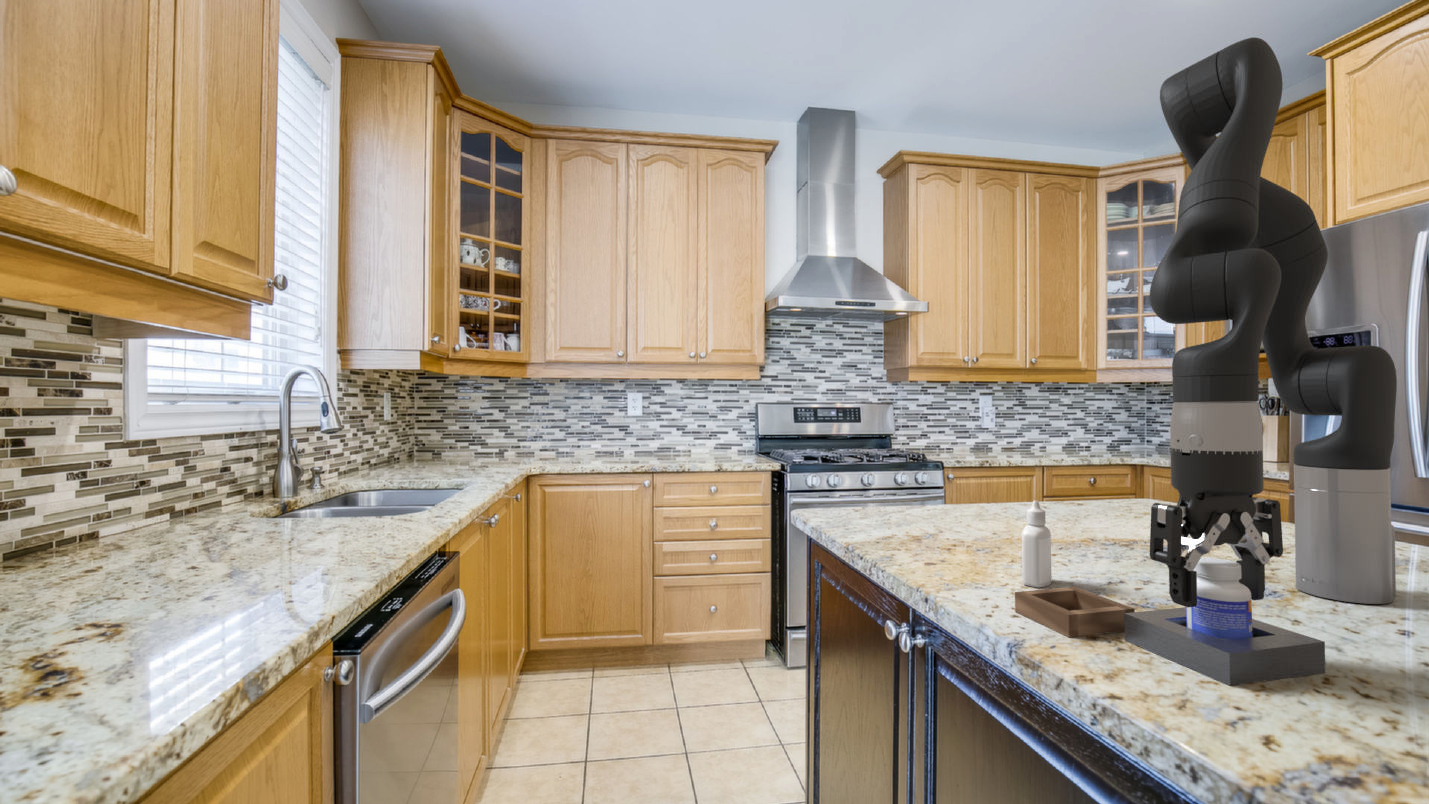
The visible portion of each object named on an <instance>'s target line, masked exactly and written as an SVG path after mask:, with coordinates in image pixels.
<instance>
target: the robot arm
mask: <svg viewBox="0 0 1429 804" xmlns="http://www.w3.org/2000/svg"><path fill="white" fill-rule="evenodd" d="M1282 95H1283V74H1282V70H1281V65H1280V63H1279V61H1278V59H1277V56H1276V54H1275V51H1274V50H1273V49H1272V47H1271V46H1270V45H1269V43H1267V41H1265V40H1264V39H1262V38H1259V37H1249V38H1245V39H1243V40H1239V41H1237V42H1235V43H1232V44H1230V45H1228V46H1226V47H1224V48H1223V49H1220V50H1218V51H1217V52H1214V53H1213V54H1211V55H1208V56H1207V57H1205V58H1203V59H1201V60H1198V61H1197V62H1195V63H1193V64H1191V65H1189V66H1188V67H1185V68H1183V69H1182V70H1180V71H1177V72H1176V73H1174V74H1173V75H1171V76H1169V77H1168V78H1166V79H1165V80H1164V81H1163V82H1162V84H1161V86H1160V89H1159V102H1160V107H1161V110H1162V114H1163V116H1164V119H1165V122H1166V124H1167V126H1168V128H1169V130H1170V132H1171V134H1172V136H1173V139H1174V141H1175V142H1176V144H1177V146H1178V148H1179V150H1180V152H1181V153H1182V154H1181V155H1183V158H1184V159H1185V161H1186V163H1187V164H1188V166H1189V168H1190V170H1191V171H1190V173H1189V174H1188V176H1187V179H1186V180H1185V182H1184V184H1183V187H1182V189H1181V192H1180V196H1179V201H1178V211H1177V219H1176V220H1177V223H1176V231H1175V234H1174V236H1173V238H1172V240H1171V243H1170V245H1169V246H1168V249H1167V250H1166V252H1165V253H1164V254H1163V255H1164V256H1163V257H1162V259H1161V260H1160V262H1159V264H1158V266H1157V268H1156V270H1155V273H1154V274H1153V277H1152V281H1151V283H1150V287H1149V289H1150V290H1149V302H1150V306H1151V308H1152V311H1153V312H1154V314H1155V315H1156V316H1157V317H1158V318H1159V319H1160V320H1162V321H1163V322H1166V323H1167V324H1173V325H1174V324H1175V325H1185V324H1187V325H1189V324H1197V323H1210V322H1211V323H1212V322H1220V321H1229V320H1230V321H1233V325H1232V327H1231V329H1230V330H1229V331H1228V333H1227V334H1225V335H1224V336H1222V337H1221V338H1218V339H1215V340H1213V341H1208V342H1205V343H1200V344H1199V343H1198V344H1195V345H1191V346H1186V347H1184V348H1181V349H1179V350H1177V351H1176V353H1174V354H1173V358H1172V361H1171V362H1172V364H1171V368H1172V369H1171V374H1172V375H1171V377H1172V410H1171V417H1170V423H1169V425H1170V426H1169V427H1170V428H1169V433H1170V434H1169V435H1170V440H1169V441H1170V442H1169V444H1170V485H1171V487H1173V488H1174V489H1175V490H1177V492H1178V493H1179V497H1178V501H1177V503H1176V504H1174V505H1173V504H1168V503H1162V502H1161V503H1160V502H1154V503H1152V505H1151V507H1150V531H1149V532H1150V534H1149V536H1150V537H1149V538H1150V539H1149V558H1150V559H1151V561H1155V562H1159V563H1162V564H1163V565H1166V566H1167V568H1168V583H1169V584H1168V585H1169V586H1168V587H1169V588H1168V589H1169V590H1168V592H1169V593H1168V594H1169V595H1170V598H1171V601H1172V602H1173V603H1174V604H1177V605H1180V606H1183V607H1195V606H1196V605H1197V571H1193V570H1194V569H1195V567H1196V565H1197V563H1198V562H1199V560H1200V558H1202V557H1203V556H1204V555H1207V554H1209V553H1210V552H1211V550H1212V549H1213V547H1214V546H1215V547H1217V546H1222V545H1224V544H1226V545H1228V546H1230V547H1231V549H1232V550H1233V552H1234V553H1235V555H1236V557H1237V558H1238V559H1239V560H1236V562H1237V563H1239V564H1240V565H1241V574H1242V576H1241V577H1242V578H1241V579H1240V580H1239V583H1241V584H1243V585H1245V586H1246V587H1247V588H1248V589H1249V590H1250V592H1251V601H1260V600H1263V599H1264V597H1265V590H1266V581H1265V580H1266V567H1265V566H1266V565H1268V564H1269V562H1270V560H1271V558H1272V557H1277V558H1280V557H1282V555H1283V554H1284V544H1283V529H1282V527H1283V526H1282V513H1281V511H1282V510H1281V502H1279V500H1278V499H1277V500H1276V499H1270V498H1263V497H1254V495H1255V496H1256V495H1259V494H1261V493H1262V492H1263V491H1264V444H1263V443H1264V441H1263V440H1264V439H1263V438H1264V437H1263V435H1264V433H1263V430H1264V429H1263V420H1262V415H1261V410H1260V402H1259V401H1260V399H1259V398H1260V397H1259V396H1260V391H1259V389H1260V386H1259V362H1260V360H1259V359H1260V353H1261V352H1260V351H1261V347H1263V350H1264V354H1265V356H1266V359H1267V363H1268V367H1269V371H1270V374H1271V378H1272V382H1273V385H1274V387H1275V390H1276V392H1277V395H1278V397H1279V399H1280V400H1281V402H1282V404H1283V405H1284V406H1285V407H1286V408H1287V409H1288V410H1289V411H1290V412H1292V413H1295V414H1298V415H1305V416H1331V417H1332V416H1337V417H1339V416H1341V419H1340V423H1339V426H1338V428H1337V429H1335V430H1334V431H1332V432H1331V433H1329V434H1327V435H1324V436H1322V437H1319V438H1316V439H1312V440H1306V441H1303V442H1299V443H1297V444H1296V445H1295V447H1294V449H1293V489H1294V490H1293V491H1294V493H1293V494H1294V501H1293V502H1294V547H1295V550H1294V551H1295V552H1294V553H1295V555H1294V556H1295V557H1294V559H1295V561H1294V562H1295V587H1296V589H1297V590H1299V591H1301V592H1303V593H1305V594H1309V595H1312V596H1316V597H1320V598H1325V599H1329V600H1333V601H1334V600H1335V601H1341V602H1348V603H1359V604H1369V605H1371V604H1372V605H1383V604H1390V603H1392V602H1393V601H1394V600H1393V598H1396V597H1397V590H1396V589H1397V584H1396V583H1397V582H1396V581H1397V580H1396V579H1397V578H1396V577H1397V576H1396V529H1395V526H1394V525H1393V524H1392V496H1391V495H1392V492H1391V490H1392V489H1391V456H1392V452H1393V448H1394V442H1395V420H1396V419H1395V418H1396V402H1397V390H1398V389H1397V387H1398V385H1397V383H1398V382H1397V381H1398V379H1397V369H1396V366H1395V362H1394V360H1393V359H1392V357H1391V354H1390V353H1389V352H1388V351H1387V350H1386V349H1383V348H1382V347H1380V346H1378V345H1354V346H1353V345H1352V346H1351V345H1350V346H1339V347H1338V346H1337V347H1325V348H1324V347H1323V348H1322V347H1321V348H1315V346H1314V345H1313V344H1312V343H1311V340H1310V338H1309V334H1308V330H1307V326H1306V316H1307V315H1306V314H1307V311H1308V307H1309V305H1310V303H1311V300H1312V299H1313V296H1314V294H1315V292H1316V290H1317V289H1318V286H1319V284H1320V282H1321V279H1322V277H1323V275H1324V272H1325V270H1326V266H1327V263H1328V257H1329V252H1328V248H1327V245H1326V241H1325V239H1324V236H1323V234H1322V230H1321V229H1320V226H1319V223H1318V220H1317V219H1316V216H1315V212H1314V211H1313V208H1311V206H1310V205H1309V204H1308V203H1307V202H1306V201H1305V200H1304V199H1303V198H1301V197H1300V196H1299V195H1297V194H1295V193H1293V192H1292V191H1290V190H1288V189H1286V188H1284V187H1282V186H1280V185H1278V184H1277V183H1275V182H1273V181H1270V180H1268V179H1266V178H1264V177H1263V176H1261V174H1262V169H1263V166H1264V165H1263V164H1264V161H1265V157H1266V153H1267V150H1268V148H1269V144H1270V142H1271V139H1272V138H1271V137H1272V135H1273V132H1274V127H1275V124H1276V119H1277V117H1278V112H1279V109H1280V105H1281V100H1282ZM1218 134H1219V135H1218ZM1217 135H1218V136H1217ZM1263 533H1266V534H1267V535H1268V542H1265V541H1264V540H1265V539H1264V538H1263ZM1188 536H1189V537H1190V538H1188ZM1164 540H1165V541H1166V542H1167V546H1166V547H1167V548H1166V550H1167V551H1166V550H1164V544H1165V543H1164ZM1185 551H1187V553H1186V554H1185V555H1184V556H1182V555H1183V553H1184V552H1185Z"/></svg>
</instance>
